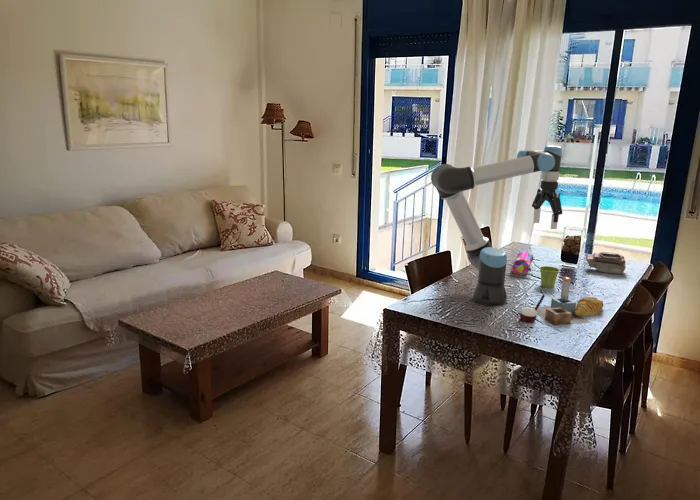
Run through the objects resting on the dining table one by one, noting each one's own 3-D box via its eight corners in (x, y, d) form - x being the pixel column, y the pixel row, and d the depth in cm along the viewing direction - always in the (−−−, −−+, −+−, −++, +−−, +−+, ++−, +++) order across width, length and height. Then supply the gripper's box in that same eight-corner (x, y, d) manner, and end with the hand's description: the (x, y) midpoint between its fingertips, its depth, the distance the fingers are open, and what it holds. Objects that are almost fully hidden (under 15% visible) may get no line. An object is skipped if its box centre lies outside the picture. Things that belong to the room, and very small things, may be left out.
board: (554, 327, 212) (554, 325, 212) (526, 309, 231) (526, 307, 231) (590, 324, 216) (590, 322, 216) (560, 306, 235) (560, 304, 235)
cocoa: (515, 322, 216) (518, 294, 213) (518, 317, 222) (520, 290, 219) (539, 327, 212) (543, 298, 209) (542, 322, 218) (545, 294, 214)
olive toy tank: (624, 278, 277) (627, 260, 274) (582, 272, 286) (585, 255, 283) (625, 271, 288) (627, 254, 286) (585, 266, 297) (587, 249, 295)
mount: (555, 324, 214) (556, 314, 213) (545, 317, 220) (546, 308, 219) (570, 322, 215) (571, 313, 214) (559, 316, 222) (560, 307, 221)
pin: (561, 312, 225) (566, 279, 222) (557, 310, 228) (561, 277, 224) (567, 312, 226) (572, 278, 222) (563, 309, 229) (567, 276, 225)
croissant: (580, 327, 221) (591, 314, 216) (562, 310, 226) (572, 297, 221) (604, 315, 234) (615, 302, 229) (586, 299, 239) (597, 286, 234)
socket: (560, 315, 223) (561, 303, 222) (550, 309, 230) (551, 298, 228) (574, 313, 225) (576, 302, 223) (564, 307, 231) (565, 297, 230)
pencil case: (530, 277, 276) (531, 260, 274) (511, 275, 280) (512, 258, 277) (532, 266, 296) (534, 250, 294) (515, 264, 299) (516, 248, 297)
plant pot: (554, 283, 267) (556, 266, 265) (560, 289, 258) (562, 272, 256) (535, 282, 268) (537, 265, 266) (540, 288, 259) (542, 271, 257)
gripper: (574, 183, 232) (568, 231, 237) (541, 176, 255) (536, 220, 261) (559, 184, 230) (553, 232, 235) (527, 177, 253) (522, 220, 259)
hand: (544, 225), depth 248 cm, fingers open, 13 cm apart
